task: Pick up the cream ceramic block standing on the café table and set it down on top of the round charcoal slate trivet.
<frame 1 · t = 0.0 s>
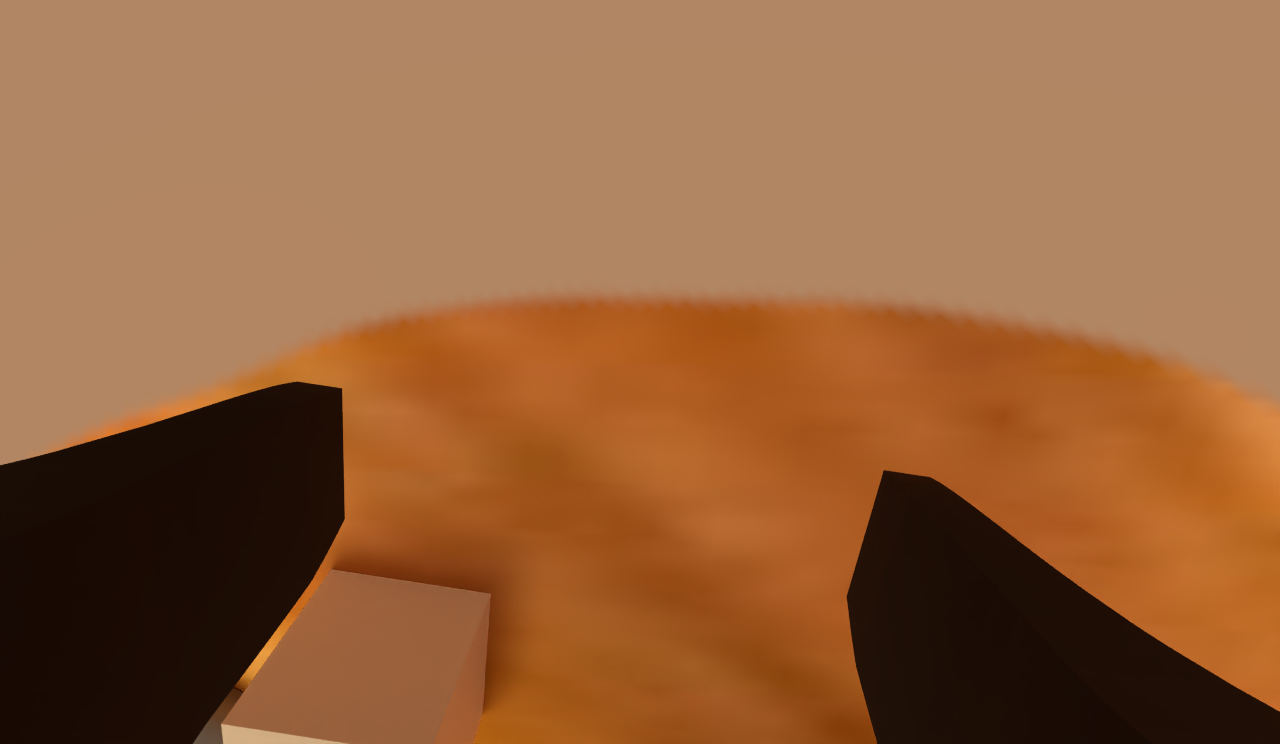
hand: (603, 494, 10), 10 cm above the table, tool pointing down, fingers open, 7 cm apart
cream block: (410, 643, 25), on the table
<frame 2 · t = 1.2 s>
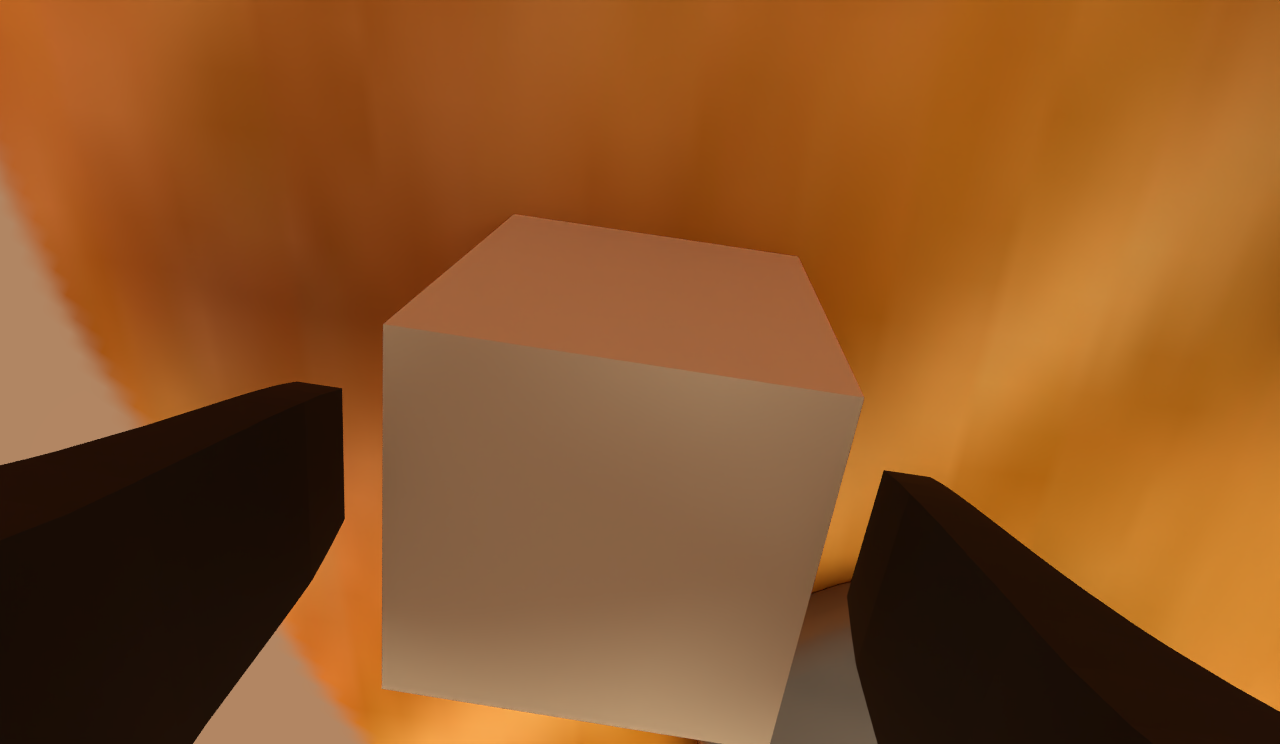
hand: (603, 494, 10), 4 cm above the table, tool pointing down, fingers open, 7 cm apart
slate trivet: (898, 739, 17), on the table
cream block: (637, 365, 14), on the table
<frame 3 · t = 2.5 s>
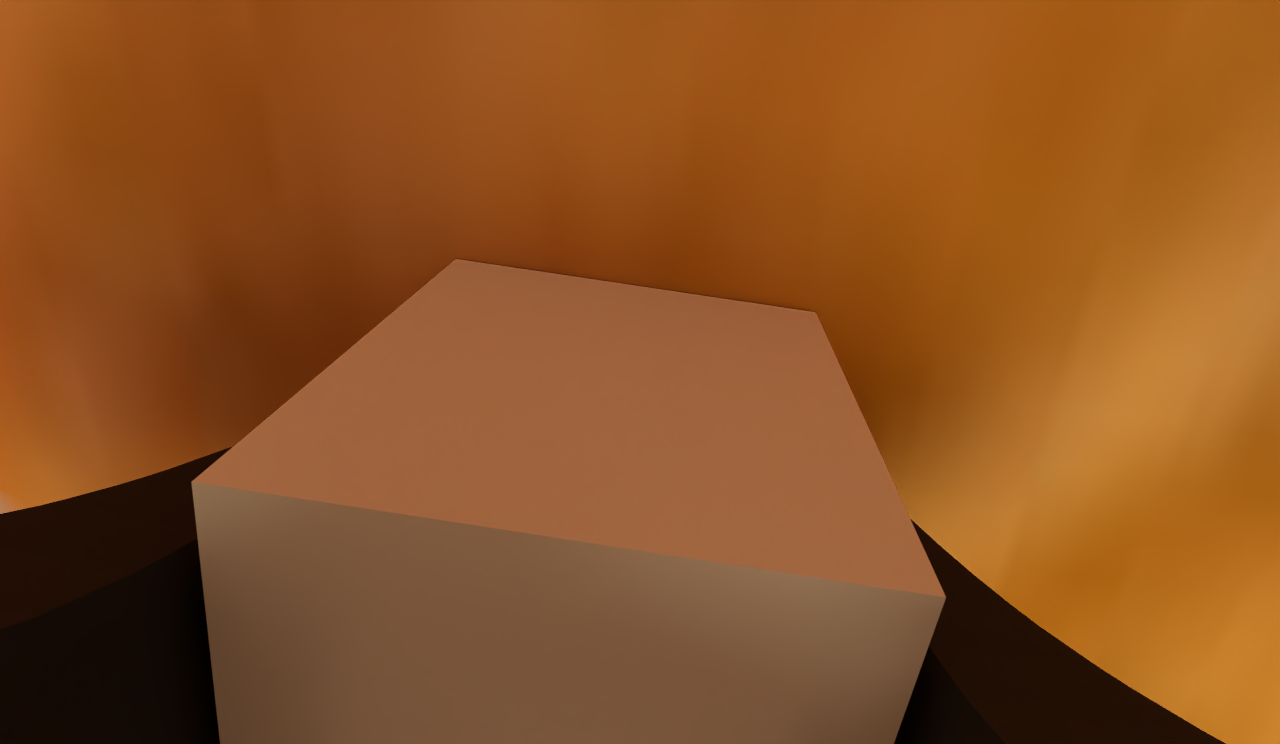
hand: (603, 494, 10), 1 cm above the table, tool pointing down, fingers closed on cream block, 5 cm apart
cream block: (613, 444, 12), on the table, touching gripper
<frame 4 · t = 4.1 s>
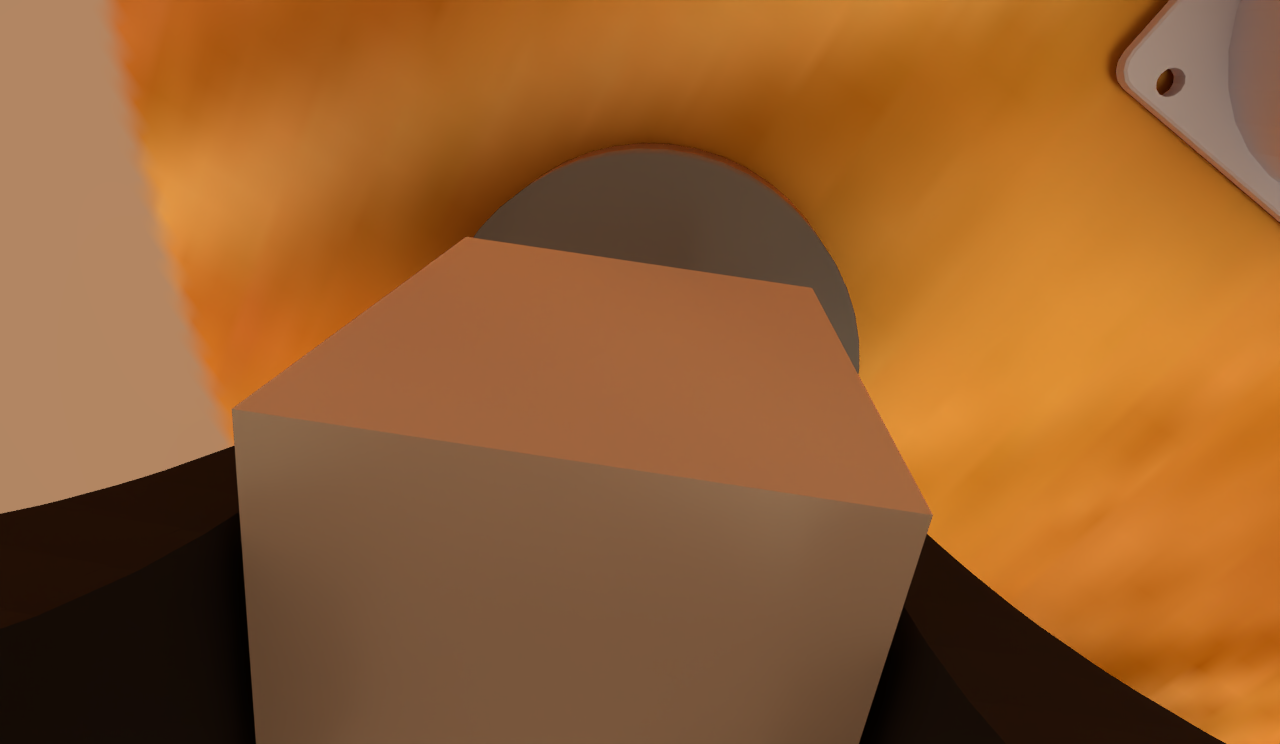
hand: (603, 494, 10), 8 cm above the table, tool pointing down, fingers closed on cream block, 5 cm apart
slate trivet: (650, 339, 18), on the table
cream block: (617, 418, 12), point 6 cm above the table, touching gripper
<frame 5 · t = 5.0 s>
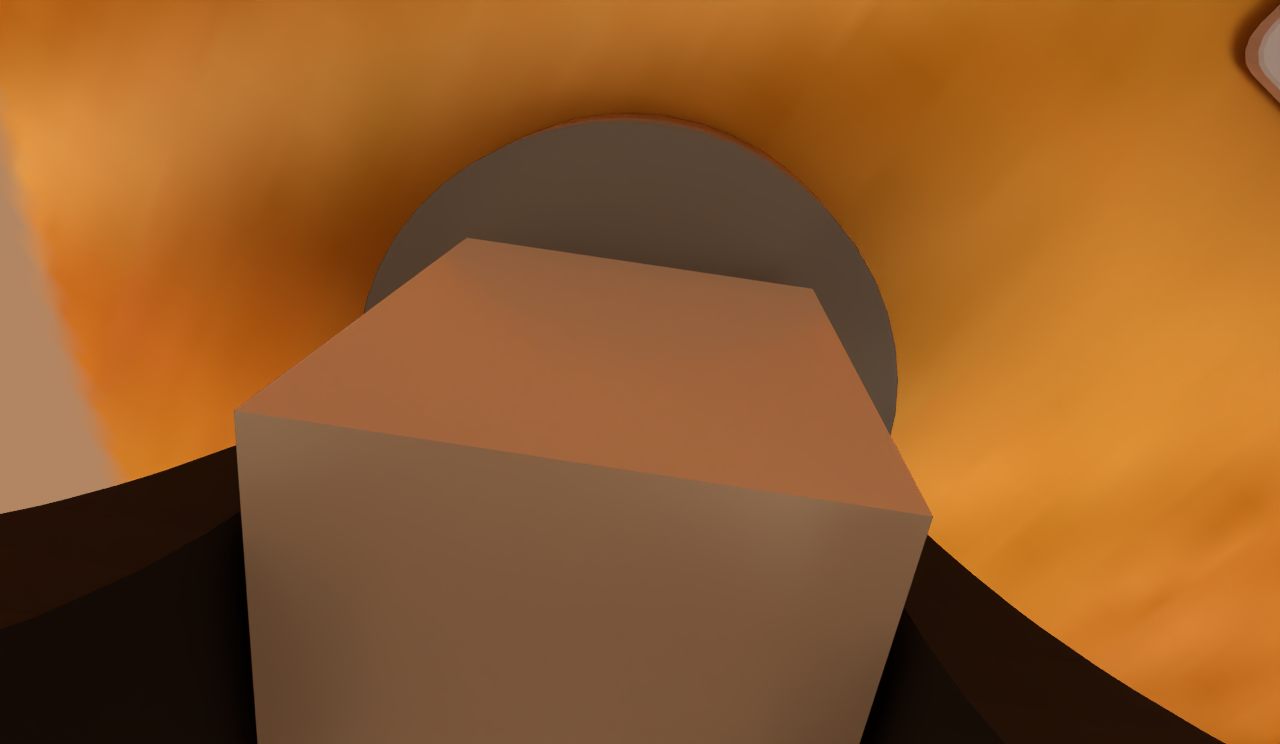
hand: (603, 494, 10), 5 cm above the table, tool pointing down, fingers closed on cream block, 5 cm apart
slate trivet: (631, 360, 15), on the table
cream block: (617, 419, 12), point 3 cm above the table, touching gripper
when the fingers open (5 cm above the table, at t = 5.7 s): cream block stays where it is, resting on slate trivet.
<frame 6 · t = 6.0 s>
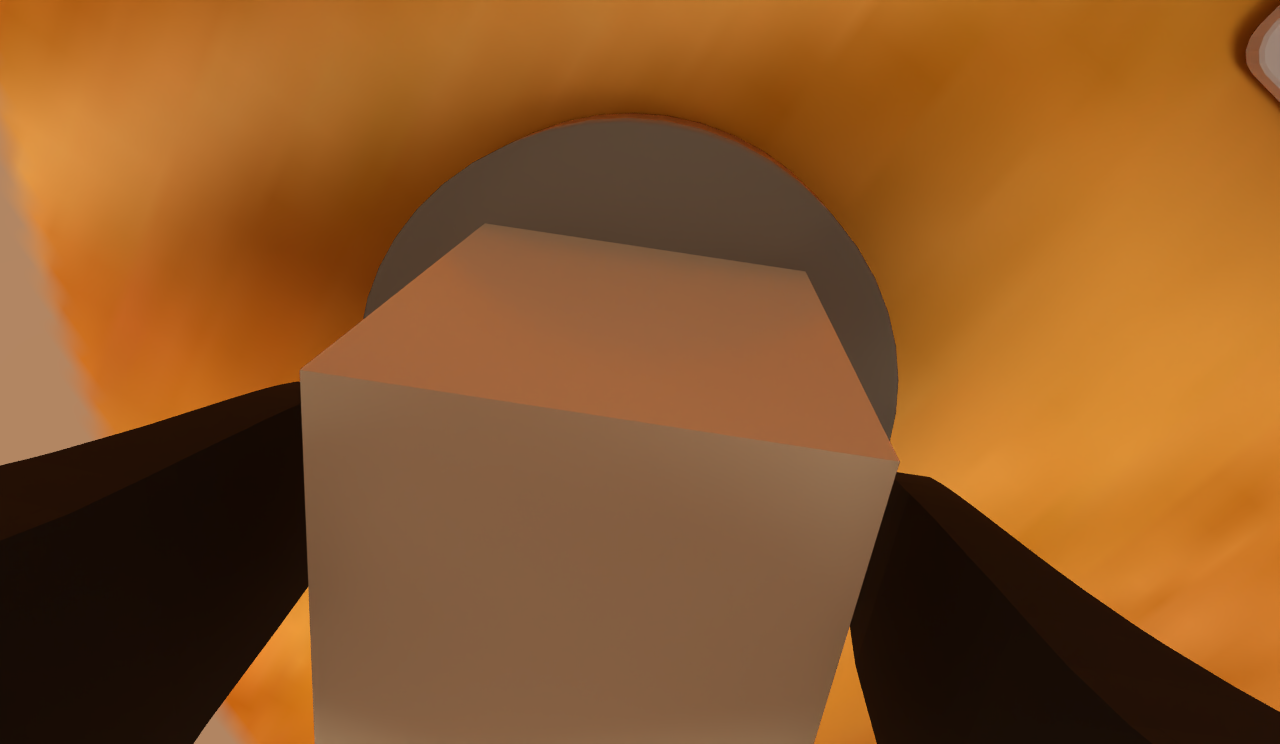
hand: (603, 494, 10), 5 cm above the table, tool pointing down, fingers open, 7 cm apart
slate trivet: (632, 359, 15), on the table
cream block: (624, 393, 13), point 2 cm above the table, touching slate trivet
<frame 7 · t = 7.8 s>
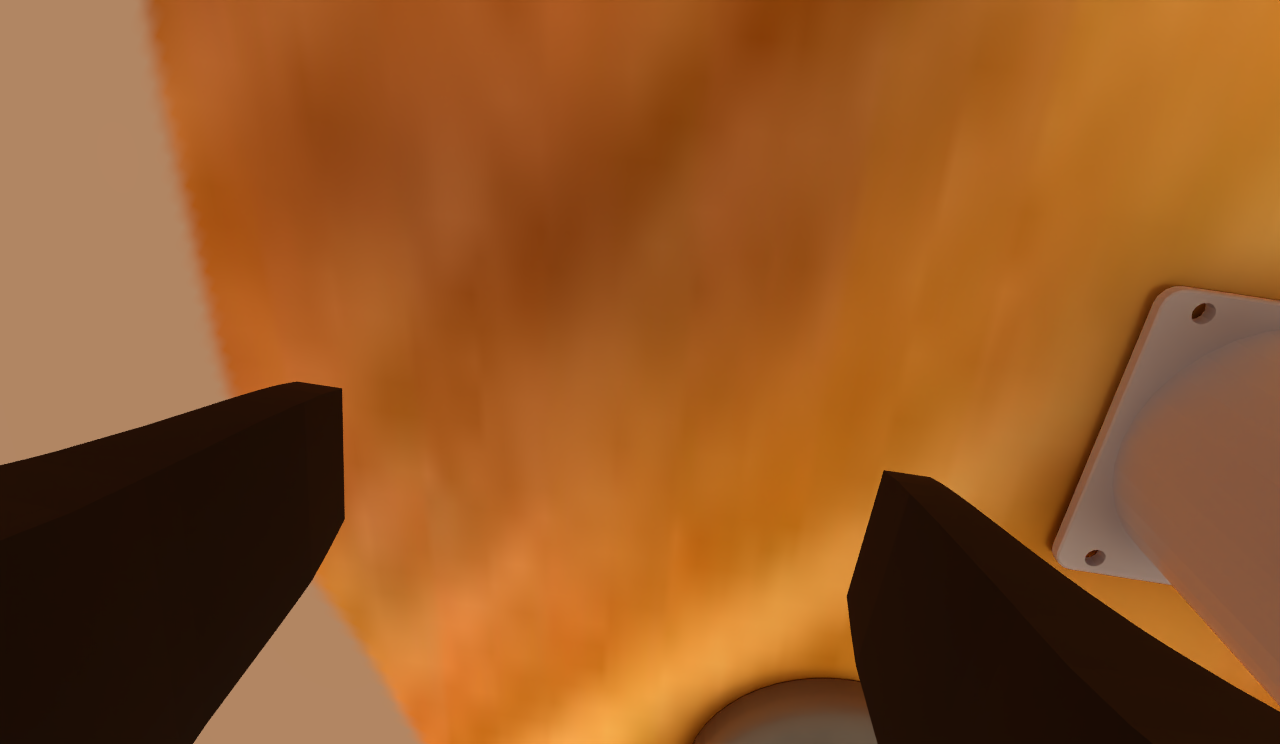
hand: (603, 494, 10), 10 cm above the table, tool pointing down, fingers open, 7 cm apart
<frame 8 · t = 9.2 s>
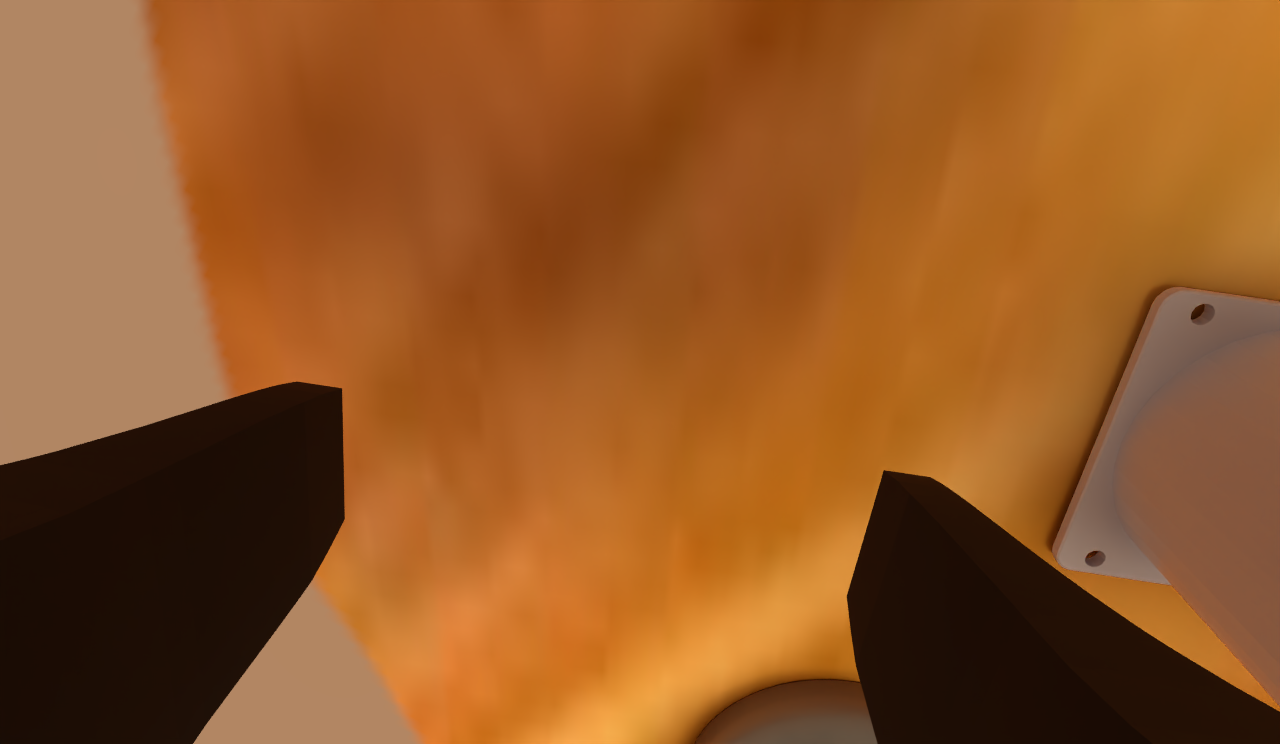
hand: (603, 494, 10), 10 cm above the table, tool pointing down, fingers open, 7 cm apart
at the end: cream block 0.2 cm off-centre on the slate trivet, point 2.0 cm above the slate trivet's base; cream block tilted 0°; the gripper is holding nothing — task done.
